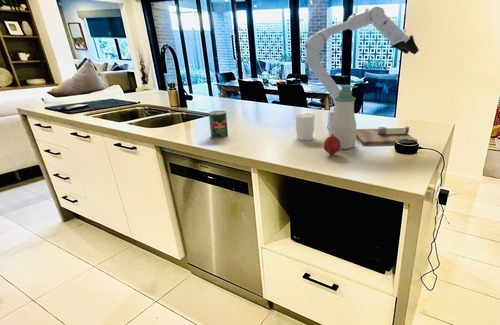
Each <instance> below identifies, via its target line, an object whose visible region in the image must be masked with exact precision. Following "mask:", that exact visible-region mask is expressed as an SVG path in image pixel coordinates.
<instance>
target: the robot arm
mask: <svg viewBox="0 0 500 325" xmlns="http://www.w3.org/2000/svg"><path fill="white" fill-rule="evenodd" d="M369 25H373V27H374V28H375V29H376V30H377V31H378V32H379V33H380V34H381V35H382V36H383V37H385V39H386V40H388V41H389V43H390V44H391V46H390V47H391V48H394V49H396V50H398V51H401V52H402V53H404V54H405V55H408V54H409V53H411V54H413V55H416V54H417V53H419V51H420V49H419V48H418V46H417V44H416V42H415V38H414V36H413V35H412V34H411V35H409V36H408V35H407V34H406V32H407V29H401V28H400V27H399V26H398V25H397V24H396V23H395V22H394V21H393V20H392V19H391V18H390V17H389V16H387V15H386V14H385V10H384V8H383V7H381V6H375V7H372V8H366V9H364V10H363V11H360V12H358V13H356V12H353V13H351V15H349V17H348V18H347V20H346V21H344V22H341V23H338V24H335V25H331V26H329V27H325V28H323V29H321V30H319V31H317V32H316V33H315V34H311V35H310V36H308V38H307V39H306V42H305V45H304V49H305V62H306V64H307V65H308V68H310V69H311V71H312V72H313V74H314V75H315V76H316V78H317V79H318V81H319V82H320V83H321V85H322V86H323V87H324V88H325V89H326V91H327V92H328V93H329V95H330V97H331V98H332V103H333V104H334V107H333V109H330V110H328V112H327V128H328V130H329V131H330V127H331V123H332V120H333V117H334V113H335V108H336V100H335V98H336V97H337V96H339V91H342V89H341V88H340V87H339V86H338V84H337V83H336V82H335V80H334V79H333V78H332V77H331V75H330V74H329V72H328V71H327V69H326V68H325V66H324V65H323V64H322V62H321V61H320V60H319V58H320V54H321V51H322V50H323V48H324V45H325V42H327V41H328V40H329V39H330V38H331V37H332V36H334V35H337V34H339V33H340V32H343V31H346V30H350V31H356V30H359V29H363V28H364V27H367V26H369Z"/></svg>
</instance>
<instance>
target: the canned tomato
mask: <svg viewBox="0 0 500 325" xmlns="http://www.w3.org/2000/svg"><path fill="white" fill-rule="evenodd" d="M208 119H209V129H210V137H211V139H225V138H228V136H229V132H228V121H227V120H228V118H227V111H225V110H213V111H209V112H208Z"/></svg>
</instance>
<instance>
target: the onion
mask: <svg viewBox="0 0 500 325" xmlns="http://www.w3.org/2000/svg"><path fill="white" fill-rule="evenodd" d="M329 136H330V135H329ZM329 136H328V137H327V138H326V139H325V140H324V142H323V149H324V151H325V152H326V153H327V154H328V155H329V156H334V155H335V154H336V153H338V152H339V151H340V150H341V149H340V141H339V140H338V138H337V137H335V136H334V134H332V135H331V136H330V137H329Z"/></svg>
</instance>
